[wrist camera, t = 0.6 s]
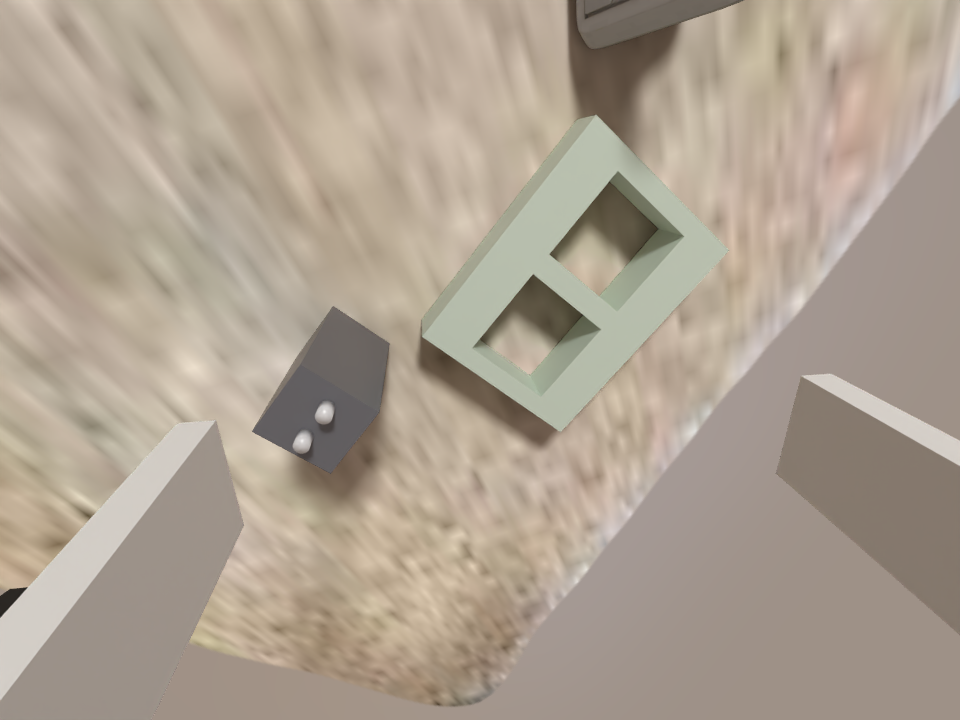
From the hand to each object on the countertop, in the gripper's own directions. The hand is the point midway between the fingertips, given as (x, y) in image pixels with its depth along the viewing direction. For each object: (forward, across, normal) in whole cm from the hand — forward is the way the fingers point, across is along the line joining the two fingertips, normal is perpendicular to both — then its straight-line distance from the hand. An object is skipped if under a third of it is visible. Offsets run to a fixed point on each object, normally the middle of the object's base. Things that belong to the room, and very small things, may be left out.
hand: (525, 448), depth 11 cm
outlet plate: (+23, +7, -2) cm, 24 cm away
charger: (+23, -8, -6) cm, 25 cm away
